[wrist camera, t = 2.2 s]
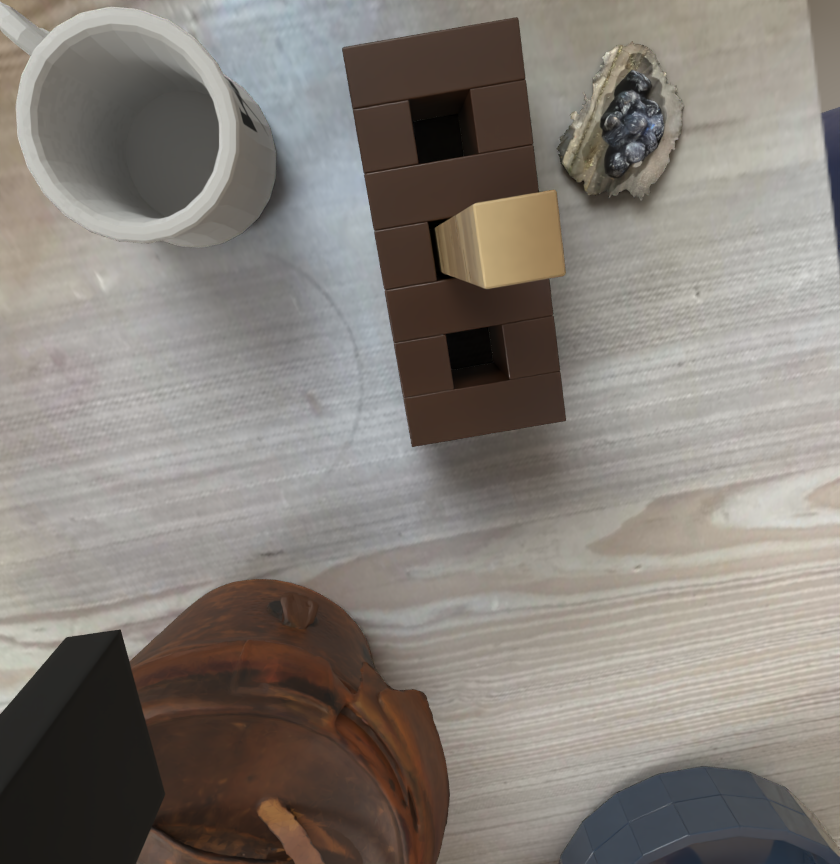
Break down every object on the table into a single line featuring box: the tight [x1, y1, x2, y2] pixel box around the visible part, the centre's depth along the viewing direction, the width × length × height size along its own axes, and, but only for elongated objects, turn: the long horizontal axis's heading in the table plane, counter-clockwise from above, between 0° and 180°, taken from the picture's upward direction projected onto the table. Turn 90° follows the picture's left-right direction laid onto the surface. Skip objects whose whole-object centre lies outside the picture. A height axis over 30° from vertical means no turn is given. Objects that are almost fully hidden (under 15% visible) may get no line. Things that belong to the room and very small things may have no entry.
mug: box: [0, 2, 276, 248], centre depth 33 cm, size 12×9×10 cm
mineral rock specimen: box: [557, 41, 684, 200], centre depth 38 cm, size 7×8×2 cm
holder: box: [342, 18, 566, 447], centre depth 37 cm, size 19×8×6 cm, turn 9°
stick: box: [430, 190, 566, 289], centre depth 29 cm, size 2×2×22 cm
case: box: [130, 579, 450, 864], centre depth 37 cm, size 18×20×18 cm
